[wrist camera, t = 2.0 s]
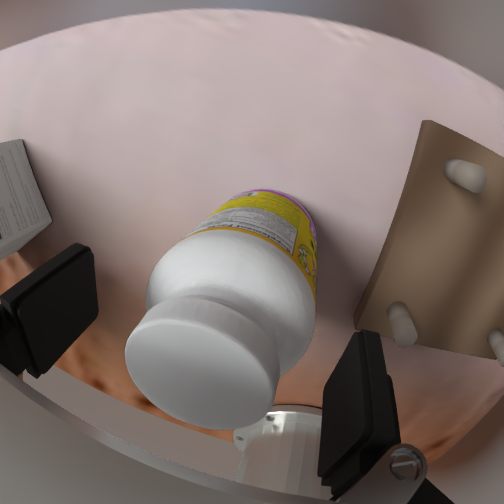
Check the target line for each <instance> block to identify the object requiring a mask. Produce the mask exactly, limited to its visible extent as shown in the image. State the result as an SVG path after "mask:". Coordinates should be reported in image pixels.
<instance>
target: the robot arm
mask: <svg viewBox="0 0 504 504" xmlns="http://www.w3.org/2000/svg"><path fill="white" fill-rule="evenodd" d="M0 300H1V303H2V304H1V305H0V504H454V503H453V502H452V501H451V500H450V499H449V498H448V497H446V496H445V495H444V494H443V493H442V492H441V491H440V490H439V489H437V488H436V487H435V486H434V485H433V484H432V483H431V482H430V481H429V480H427V479H426V478H425V477H426V474H427V469H428V465H427V460H426V458H425V456H424V454H423V453H422V452H421V451H420V450H419V449H418V448H416V447H415V446H413V445H410V444H406V443H403V444H401V438H400V430H399V422H398V415H397V408H396V401H395V395H394V389H393V383H392V379H391V377H390V376H389V375H387V371H386V366H385V360H384V355H383V349H382V344H381V339H380V335H379V333H378V332H374V331H370V330H365V329H362V330H361V331H360V332H355V333H354V334H353V336H352V338H351V340H350V341H349V343H348V345H347V347H346V349H345V351H344V353H343V355H342V356H341V358H340V360H339V362H338V364H337V365H336V367H335V369H334V371H333V372H332V374H331V376H330V378H329V379H328V381H327V383H326V385H325V387H324V391H323V405H322V409H318V408H314V407H308V406H301V405H276V406H272V407H271V409H270V411H269V412H268V413H267V415H266V416H265V417H263V418H262V419H261V420H260V421H258V422H256V423H255V424H253V425H250V426H248V427H244V428H240V429H235V430H234V433H233V439H234V443H235V445H236V446H237V448H238V449H239V450H240V451H241V452H242V453H243V456H242V460H241V463H240V467H239V471H238V474H237V477H236V480H235V481H231V480H227V479H224V478H220V477H216V476H213V475H210V474H207V473H203V472H200V471H197V470H194V469H191V468H188V467H185V466H183V465H179V464H177V463H175V462H172V461H169V460H167V459H164V458H161V457H159V456H157V455H154V454H152V453H149V452H147V451H145V450H142V449H140V448H138V447H136V446H133V445H131V444H129V443H127V442H124V441H122V440H120V439H118V438H116V437H114V436H112V435H110V434H108V433H106V432H104V431H103V430H101V429H98V428H97V427H95V426H93V425H91V424H89V423H87V422H86V421H84V420H82V419H81V418H79V417H77V416H75V415H74V414H72V413H70V412H69V411H67V410H65V409H64V408H62V407H60V406H59V405H57V404H56V403H54V402H53V401H51V400H49V399H48V398H47V397H45V396H44V395H42V394H40V393H39V392H38V391H36V390H35V389H33V388H32V387H31V386H29V385H28V384H26V383H25V382H24V381H23V371H24V370H25V369H26V370H27V372H28V373H29V374H31V375H32V376H33V377H35V378H36V379H38V378H39V376H40V375H41V374H45V373H46V372H47V371H48V370H49V369H50V368H51V367H52V366H53V364H54V363H55V362H56V361H57V360H58V359H59V358H60V357H61V356H62V354H63V353H64V352H65V351H66V350H67V349H68V348H69V347H70V346H71V345H72V344H73V342H74V341H75V340H76V339H77V338H78V337H79V336H80V335H81V334H82V333H83V332H84V331H85V330H86V329H87V328H88V326H89V325H90V324H91V323H92V322H93V321H94V320H95V319H96V318H97V315H98V302H97V292H96V281H95V268H94V255H93V253H92V252H91V249H90V248H89V247H87V246H84V245H81V244H79V243H75V244H73V245H72V246H70V247H68V248H67V249H65V250H64V251H62V252H61V253H59V254H58V255H56V256H55V257H53V258H52V259H50V260H49V261H48V262H46V263H45V264H43V265H42V266H40V267H39V268H37V269H36V270H35V271H33V272H32V273H30V274H29V275H28V276H26V277H25V278H23V279H22V280H21V281H19V282H18V283H17V284H15V285H14V286H13V287H11V288H10V289H9V290H7V291H6V292H5V293H3V294H2V295H1V296H0Z"/></svg>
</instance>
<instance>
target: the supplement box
mask: <svg viewBox="0 0 504 504" xmlns="http://www.w3.org/2000/svg"><path fill="white" fill-rule="evenodd" d="M51 222H52V219H51V217H50V215H49V212H48V210H47V208H46V205H45V203H44V201H43V198H42V196H41V193H40V191H39V188H38V186H37V183H36V180H35V178H34V175H33V172H32V169H31V166H30V164H29V161H28V158H27V155H26V152H25V149H24V146H23V142H22V139H17V140H12V141H7V142H3V143H0V261H1V260H3V259H4V258H6V257H8V256H10V255H11V254H13V253H15V252H17V251H18V250H20V249H21V248H22V247H23V246H24V245H25V244H27V243H28V242H29V241H30V240H31V239H32V238H33V237H35V236H36V235H37V234H38V233H39V232H41V231H42V230H43V229H44V228H46V227H47V226H48V225H49V224H50V223H51Z"/></svg>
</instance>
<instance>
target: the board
mask: <svg viewBox="0 0 504 504" xmlns="http://www.w3.org/2000/svg"><path fill="white" fill-rule="evenodd" d="M354 325H355V330H359V331H361V330H362V329H365V330H370V331H374V332H378V333H379V335H380V336H384V337H388V338H393V339H394V340H395V343H396V345H397V346H398V347H401V348H407V347H410V346H411V345H413V344H414V343H415V344H419V345H424V346H428V347H433V348H438V349H443V350H447V351H452V352H457V353H462V354H467V355H473V356H478V357H483V358H489V359H494V360H496V359H498V361H499V362H500V364H501V366H502V367H504V158H503V157H502V156H500V155H498V154H497V153H495V152H493V151H491V150H490V149H488V148H486V147H484V146H482V145H481V144H479V143H477V142H475V141H473V140H471V139H469V138H467V137H465V136H463V135H461V134H459V133H457V132H455V131H453V130H451V129H449V128H447V127H445V126H443V125H441V124H438V123H436V122H434V121H432V120H423V121H422V124H421V128H420V132H419V136H418V140H417V144H416V147H415V151H414V155H413V158H412V162H411V165H410V169H409V172H408V175H407V179H406V182H405V185H404V188H403V192H402V195H401V198H400V201H399V204H398V207H397V210H396V213H395V216H394V218H393V221H392V224H391V227H390V230H389V232H388V235H387V238H386V241H385V243H384V246H383V248H382V251H381V254H380V256H379V259H378V261H377V264H376V266H375V269H374V271H373V273H372V276H371V278H370V281H369V283H368V285H367V288H366V290H365V292H364V295H363V297H362V299H361V301H360V304H359V306H358V308H357V310H356V312H355V315H354Z"/></svg>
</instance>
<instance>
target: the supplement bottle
mask: <svg viewBox="0 0 504 504" xmlns="http://www.w3.org/2000/svg"><path fill="white" fill-rule="evenodd" d="M316 281H317V237H316V231H315V227H314V224H313V221H312V219H311V217H310V216H309V214H308V212H307V211H306V210H305V208H304V207H303V206H302V205H301V204H300V203H299V202H298V201H296V200H295V199H294V198H292V197H291V196H289V195H287V194H285V193H282V192H279V191H276V190H271V189H253V190H248V191H245V192H242V193H240V194H238V195H236V196H234V197H233V198H231V199H230V200H229V201H227V202H226V203H225V204H223V205H222V206H221V207H220V208H219V209H217V210H216V211H215V212H214V213H213V214H211V215H210V216H209V217H208V218H206V219H205V220H204V221H203V222H202V223H201V224H200V225H198V226H197V227H196V228H195V229H194V230H192V231H191V232H190V233H189V234H188V235H186V236H185V237H184V238H183V239H182V240H180V241H179V242H178V243H177V244H176V245H174V246H173V247H172V248H171V249H170V250H169V251H168V252H167V253H166V254H165V255H164V256H163V257H162V258H161V259H160V260H159V262H158V263H157V265H156V266H155V268H154V270H153V272H152V274H151V276H150V279H149V282H148V286H147V291H146V312H147V313H146V314H145V316H144V317H143V319H142V320H141V321H140V323H139V324H138V325H137V326H136V328H135V329H134V330H133V332H132V333H131V335H130V336H129V338H128V340H127V343H126V347H125V361H126V366H127V369H128V371H129V374H130V376H131V378H132V380H133V381H134V383H135V385H136V386H137V387H138V389H139V390H140V391H141V392H142V393H143V394H144V395H145V396H146V397H147V398H148V399H149V401H150V402H152V403H153V404H154V405H156V406H157V407H158V408H160V409H161V410H163V411H164V412H166V413H167V414H169V415H171V416H173V417H174V418H176V419H178V420H181V421H183V422H186V423H189V424H192V425H195V426H199V427H203V428H208V429H215V430H234V429H240V428H244V427H248V426H250V425H253V424H255V423H256V422H258V421H260V420H261V419H262V418H263V417H265V416H266V415H267V413H268V412H269V411H270V409H271V407H272V405H273V402H274V399H275V394H276V390H277V385H278V381H279V378H280V376H282V375H283V374H285V373H286V372H288V371H289V370H290V369H291V368H293V367H294V366H295V365H296V364H297V363H298V361H299V360H300V359H301V358H302V356H303V355H304V354H305V352H306V350H307V348H308V347H309V344H310V342H311V339H312V336H313V332H314V326H315V314H316Z"/></svg>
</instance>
